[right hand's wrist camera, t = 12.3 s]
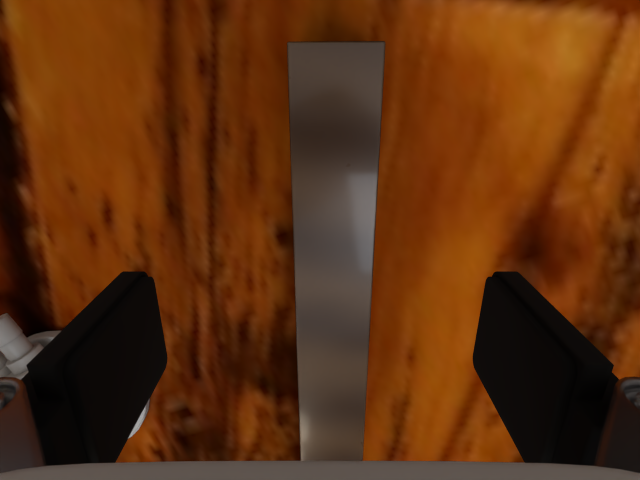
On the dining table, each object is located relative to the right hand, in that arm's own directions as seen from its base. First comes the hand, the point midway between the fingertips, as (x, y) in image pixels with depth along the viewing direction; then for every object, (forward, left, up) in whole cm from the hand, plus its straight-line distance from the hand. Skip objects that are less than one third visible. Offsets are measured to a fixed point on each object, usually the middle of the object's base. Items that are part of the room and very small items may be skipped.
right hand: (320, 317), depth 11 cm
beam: (+24, -10, -17) cm, 31 cm away
